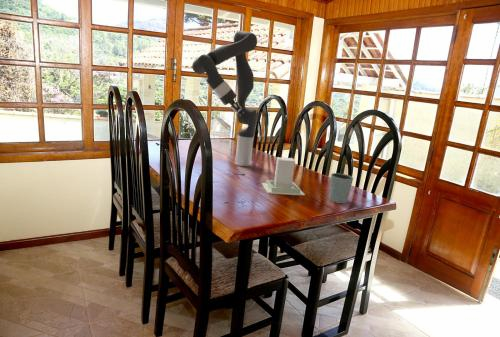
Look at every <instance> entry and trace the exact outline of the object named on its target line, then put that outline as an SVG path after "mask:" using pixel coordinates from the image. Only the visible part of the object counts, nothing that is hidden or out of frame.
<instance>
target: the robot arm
mask: <svg viewBox="0 0 500 337" xmlns="http://www.w3.org/2000/svg"><path fill="white" fill-rule="evenodd" d="M257 44H258V37H257V35H256V34H255V33H253V32H250V31H245V30H238V31H236V32H235V33H234V35H233V43H230V44H225V45H221V46H218V47H216V48H214V49H213V50H211V51H209V52H208V53H207V54H205V53H203V54H200V55H199V56H198V57H197V58H195V60H194V61H193V62H192V65H191V68H192V70H193V72H194V73H195V74H198V75H203V74H205V73H206V76H207V77H206V83H207V84H208V85H209V87H210V88H211V90H212V91H213V92H214V93H215V95H216V97H217V98H218V99H219V100H220V101H221V103H222V105H224V106H227V105H230V106H229V107H230V108H231V109H232V110H233V111H234V112H235V114H236V116H237V122H238V123H239V124H242V125H247V127H246V128H243V129H240V130H239V131H238V132H237V139H236V140H237V141H236V152H235V159H234V164H235V165H236V166H240V167H250V166H251V161H252V155H253V154H252V153H253V145H254V137H255V136H254V135H255V133H256V126H257V121H258V111H257V110H256V109H254V108H246V101H247V99H248V98H249V96H250V94H251V93H252V91H253V89H254V86H255V85H254V84H255V83H254V82H255V81H254V72H253V70H252V68H251V66H250V64H249V62H248V59H247V55H246V54H247V53H250V52H252V51H254V50H255V49H256V47H257ZM232 58H235V67H236V70H235V71H236V87H237V89H236V90H237V92H236V93H237V94H236V93H235V91H234V90H233V89H232V87H231V86H230V85H229V83H228V82H227V81H225V79H224V78H223V77H222V75H221V73H219V70H218V68H217V66H218V65H221V64H222V63H224V62H226V61H227V60H230V59H232ZM236 98H237V100H236V101H235V99H236Z"/></svg>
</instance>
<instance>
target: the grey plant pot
mask: <svg viewBox="0 0 500 337" xmlns="http://www.w3.org/2000/svg"><path fill="white" fill-rule="evenodd" d="M353 180H354V177H353V176H351V175H350V174H346V173H345V174H344V173H339V172H333V173H331V174H330V184H329V193H328V200H329V201H330V200H331V201H330V202H332V201H333V202H332V203H335V202H336V203H335V204H340V203H345V204H347V203H348V200H349V196H350V192H351V188H352V184H353ZM346 202H347V203H346Z"/></svg>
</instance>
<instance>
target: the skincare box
mask: <svg viewBox="0 0 500 337" xmlns="http://www.w3.org/2000/svg"><path fill="white" fill-rule="evenodd" d="M295 164H296V160H295V159H294V157H293V158H292V157H279V156H277V157H276V163H275V171H274V172H275V173H274V179H273V180H274V187H281V188H292V182H294V180H293V179H294V172H295V167H296V165H295Z"/></svg>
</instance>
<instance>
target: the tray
mask: <svg viewBox="0 0 500 337" xmlns="http://www.w3.org/2000/svg"><path fill="white" fill-rule="evenodd" d="M261 186H262V187H263V188H264V190H265V192H266V193H267V194H269V195H270V194H272V195H274V194H275V195H289V196H305V195H306V194H305V192H303V191H302V190H301V188H300V187H299V186H298V185H297V184H296V183H295V182H294V181H292V188H281V187H274V179H267V180H266V182H261Z"/></svg>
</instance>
